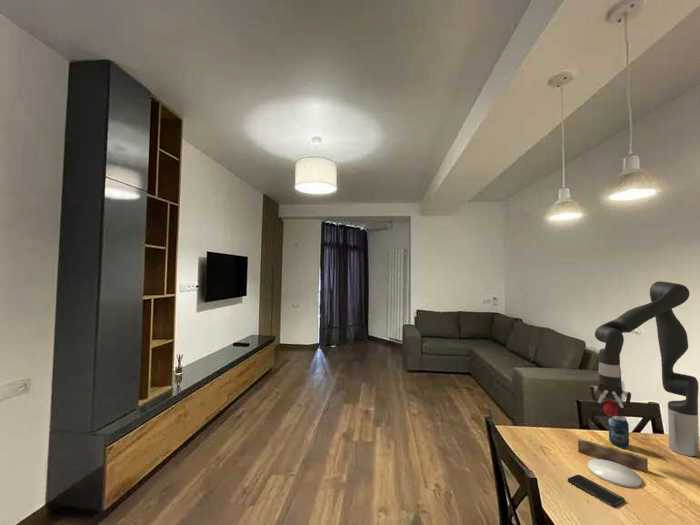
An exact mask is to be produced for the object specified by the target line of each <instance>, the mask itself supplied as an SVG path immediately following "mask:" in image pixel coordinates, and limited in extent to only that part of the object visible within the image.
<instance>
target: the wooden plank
mask: <svg viewBox="0 0 700 525" xmlns="http://www.w3.org/2000/svg"><path fill="white" fill-rule="evenodd" d="M577 445H578V446H577V449H578V450H577V451H578V453H579V452H580V454H583V453H584V455H586V454H588V455H587V456H590V455H592V456H591V457H593V456H594V458H596V457H597V458H596V459H602V460H608V461H612V462H615V463H618V464H621V465H623V466H626V467H628V468H630V469H632V470H633V469H634V470H637V471H641V472H643V473H649V468H648V467H649V465H648V462H649V461H648V457H647V456H643V455H639V454H636V453H633V452H629V451H626V450H622V449H617V448H614V447H612V446H611V447H610V446H607V445H603V444H600V443H596V442H592V441H588V440H585V439H582V438H578V439H577Z"/></svg>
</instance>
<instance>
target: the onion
mask: <svg viewBox="0 0 700 525" xmlns="http://www.w3.org/2000/svg"><path fill="white" fill-rule="evenodd" d="M602 412H603V413H604V414H606V415H607V416H608V417H609V418H610V417H614V416H619V404H618V403H616V402H615V401H614V400H612V398H608V399H607V400H605V401H604V402H602Z"/></svg>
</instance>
